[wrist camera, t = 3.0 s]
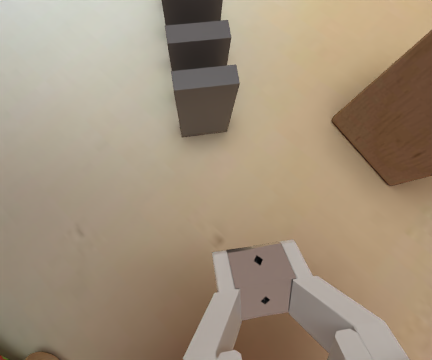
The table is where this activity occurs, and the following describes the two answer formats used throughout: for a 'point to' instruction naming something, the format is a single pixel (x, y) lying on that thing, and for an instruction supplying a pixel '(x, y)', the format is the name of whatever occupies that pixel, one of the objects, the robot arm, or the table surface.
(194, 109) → the domino
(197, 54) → the domino
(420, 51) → the wooden block
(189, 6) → the domino
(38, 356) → the toy lion
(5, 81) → the table surface
